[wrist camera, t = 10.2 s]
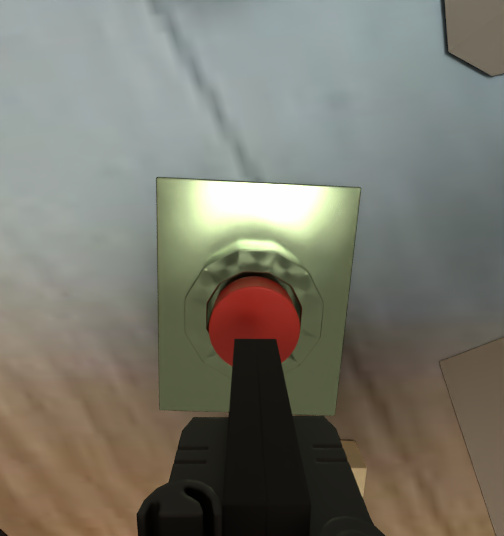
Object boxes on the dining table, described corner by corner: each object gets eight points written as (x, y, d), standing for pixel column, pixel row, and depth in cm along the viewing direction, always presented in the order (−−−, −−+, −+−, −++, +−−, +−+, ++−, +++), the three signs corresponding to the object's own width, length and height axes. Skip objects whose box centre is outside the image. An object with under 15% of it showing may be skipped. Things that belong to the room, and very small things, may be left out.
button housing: (327, 395, 23) (343, 436, 19) (167, 390, 23) (150, 430, 19) (349, 187, 20) (373, 186, 16) (165, 178, 20) (145, 175, 16)
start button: (291, 354, 19) (296, 374, 17) (211, 351, 19) (207, 370, 17) (297, 277, 18) (304, 288, 16) (213, 273, 18) (209, 284, 16)
